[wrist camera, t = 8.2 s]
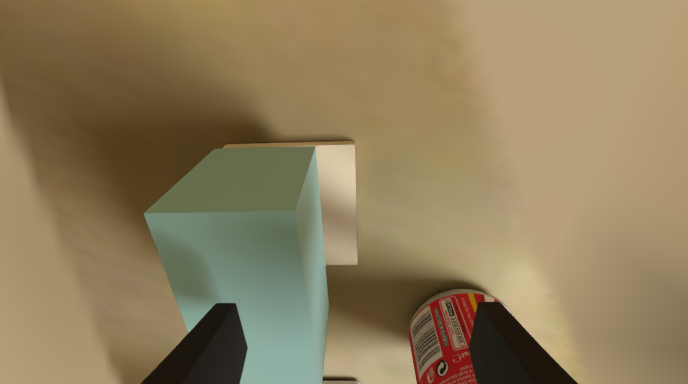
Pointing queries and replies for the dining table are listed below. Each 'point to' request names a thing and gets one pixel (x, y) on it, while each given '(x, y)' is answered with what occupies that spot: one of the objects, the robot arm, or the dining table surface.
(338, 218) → the stand
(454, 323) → the soda can
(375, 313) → the dining table surface
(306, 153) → the block
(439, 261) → the dining table surface
